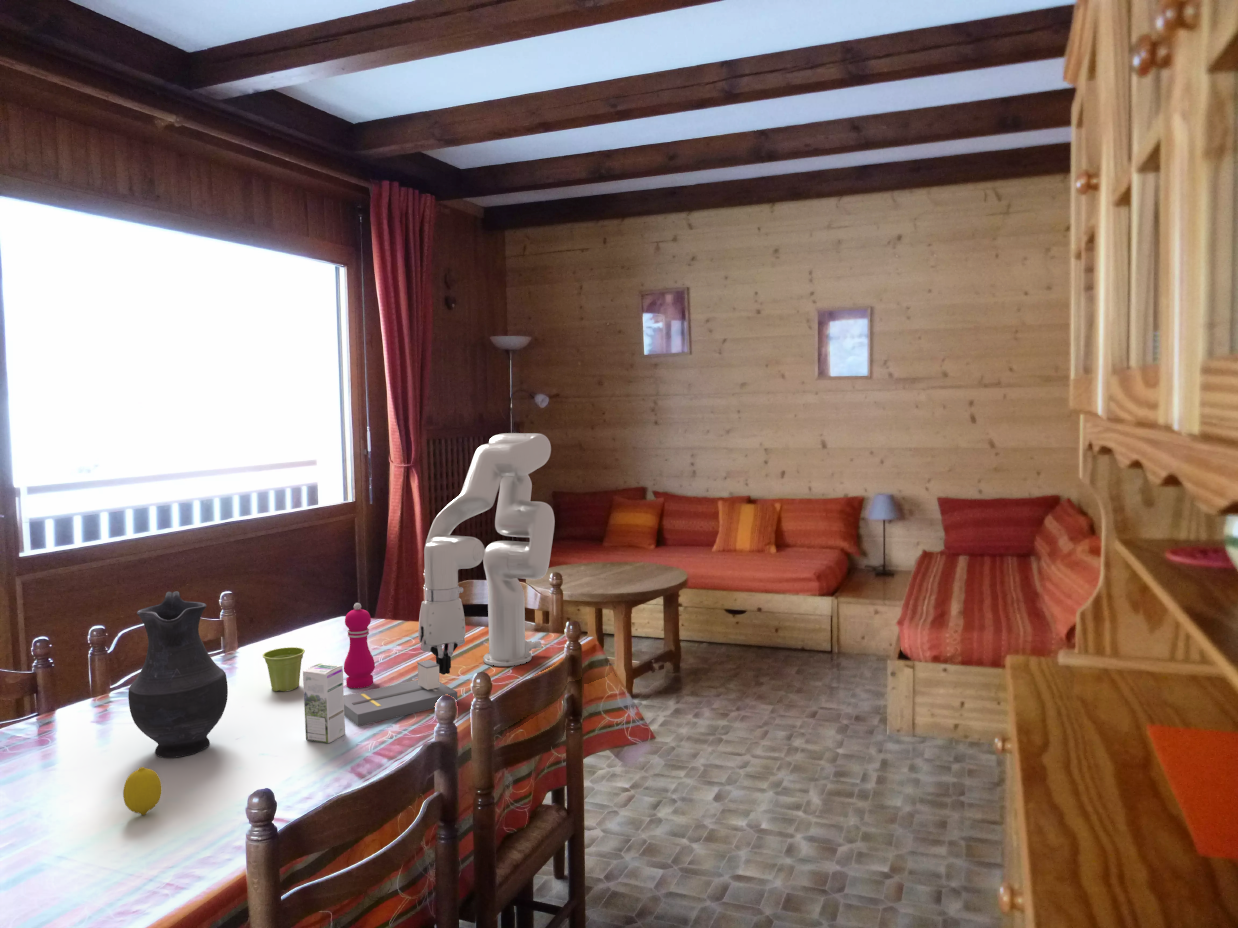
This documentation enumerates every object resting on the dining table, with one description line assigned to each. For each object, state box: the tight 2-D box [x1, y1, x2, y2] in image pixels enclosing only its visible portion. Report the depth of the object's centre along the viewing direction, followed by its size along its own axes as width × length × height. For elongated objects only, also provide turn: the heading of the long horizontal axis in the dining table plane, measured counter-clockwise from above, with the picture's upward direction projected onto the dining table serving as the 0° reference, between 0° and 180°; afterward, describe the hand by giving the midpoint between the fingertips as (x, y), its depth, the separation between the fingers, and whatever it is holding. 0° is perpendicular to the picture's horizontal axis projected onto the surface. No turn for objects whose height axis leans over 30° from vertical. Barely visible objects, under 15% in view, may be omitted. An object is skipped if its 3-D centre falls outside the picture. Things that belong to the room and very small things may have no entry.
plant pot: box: [262, 646, 306, 692], centre depth 208 cm, size 9×9×9 cm
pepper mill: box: [343, 602, 376, 689], centre depth 209 cm, size 7×7×20 cm
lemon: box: [122, 766, 163, 816], centre depth 143 cm, size 6×6×8 cm
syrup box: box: [302, 663, 346, 744], centre depth 176 cm, size 6×6×14 cm
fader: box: [416, 659, 440, 690], centre depth 199 cm, size 3×5×5 cm, turn 37°
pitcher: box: [127, 591, 229, 759], centre depth 172 cm, size 17×21×30 cm
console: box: [344, 679, 459, 727], centre depth 195 cm, size 23×14×3 cm, turn 127°
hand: (443, 672), depth 201 cm, fingers closed
